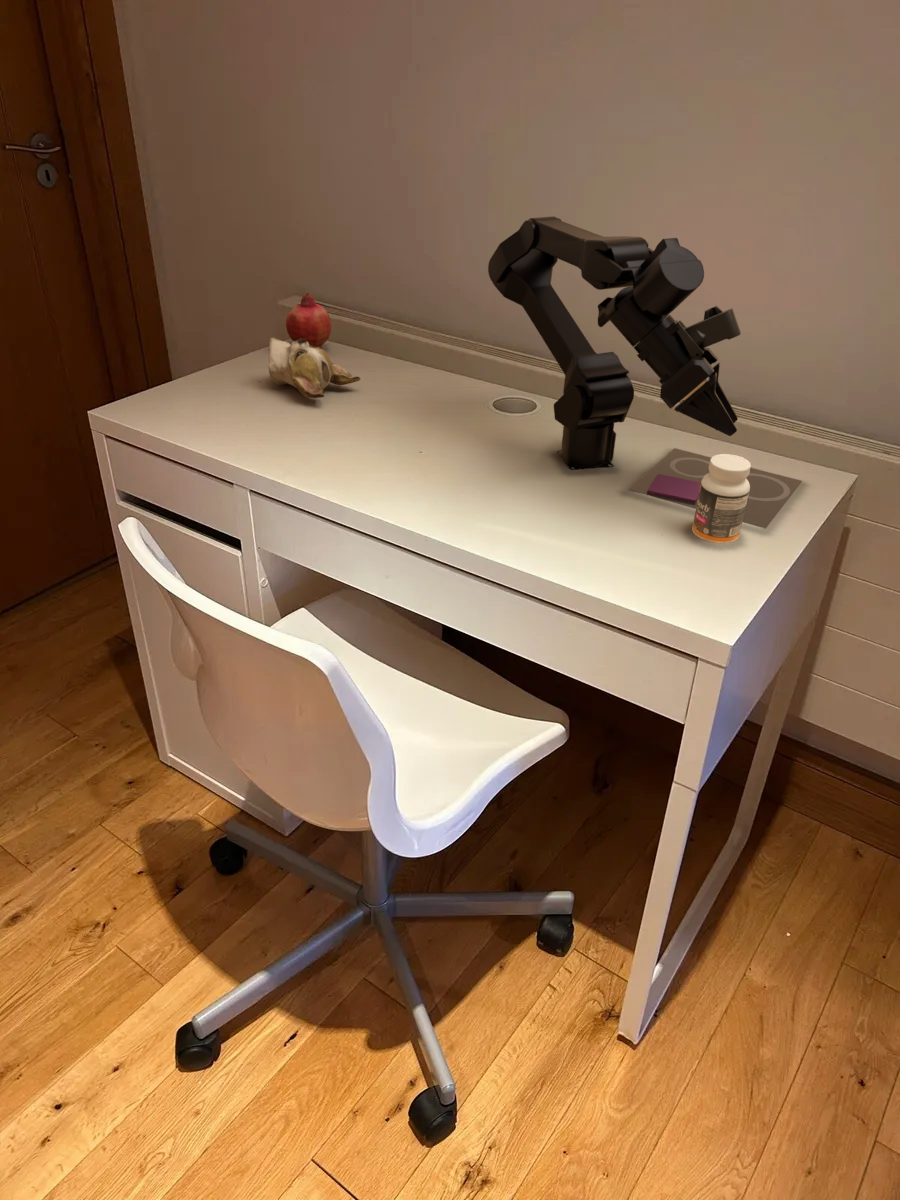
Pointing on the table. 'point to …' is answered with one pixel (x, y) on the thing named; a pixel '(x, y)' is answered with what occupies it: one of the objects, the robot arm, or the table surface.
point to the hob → (764, 486)
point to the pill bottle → (722, 499)
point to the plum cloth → (675, 488)
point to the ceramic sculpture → (305, 367)
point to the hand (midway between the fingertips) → (734, 427)
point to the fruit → (309, 322)
